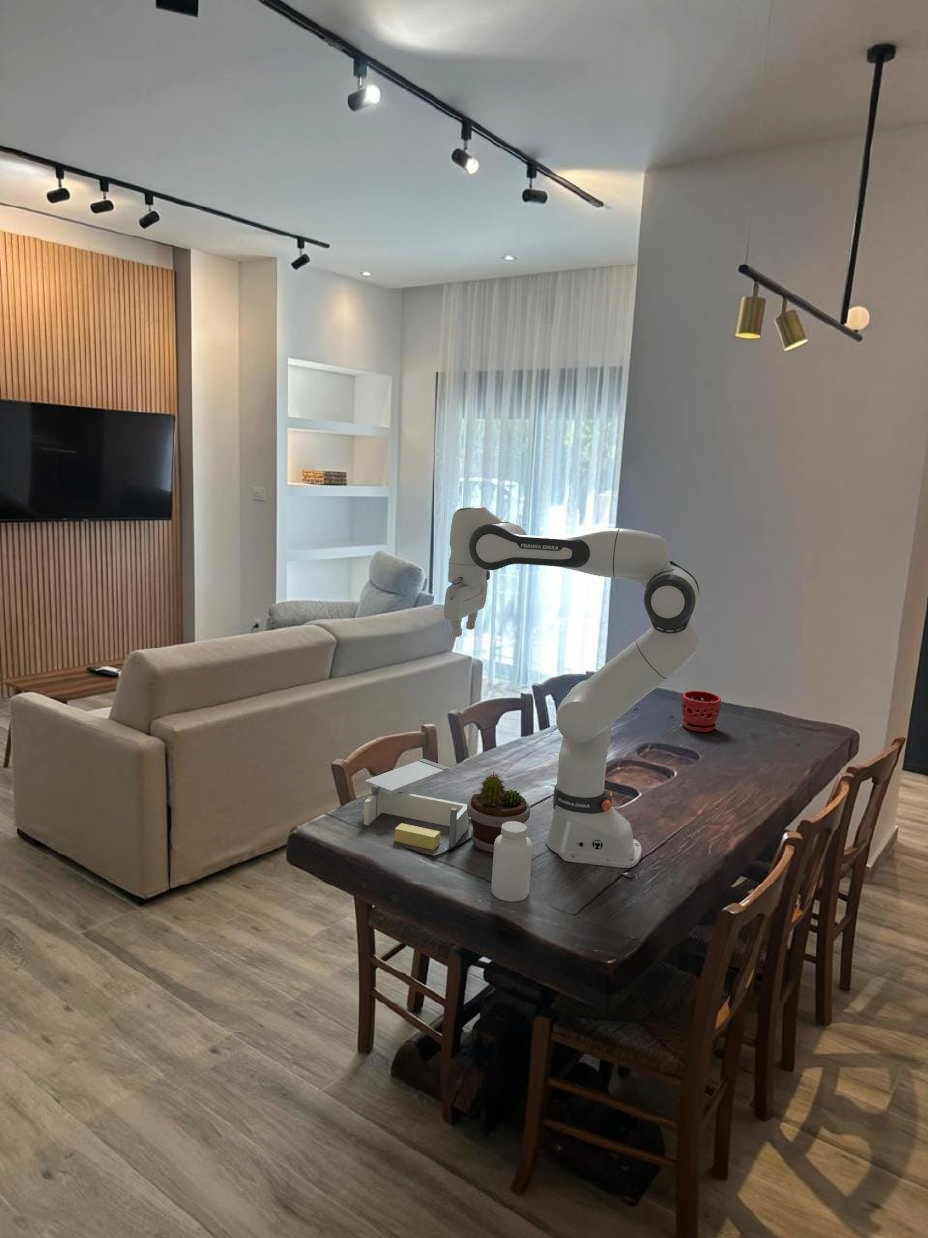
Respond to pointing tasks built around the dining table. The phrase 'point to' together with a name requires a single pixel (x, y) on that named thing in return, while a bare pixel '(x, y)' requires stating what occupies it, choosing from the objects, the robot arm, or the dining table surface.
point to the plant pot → (700, 710)
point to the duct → (419, 811)
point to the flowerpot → (494, 812)
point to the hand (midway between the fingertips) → (463, 632)
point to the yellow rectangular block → (417, 836)
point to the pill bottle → (512, 863)
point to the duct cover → (406, 777)
